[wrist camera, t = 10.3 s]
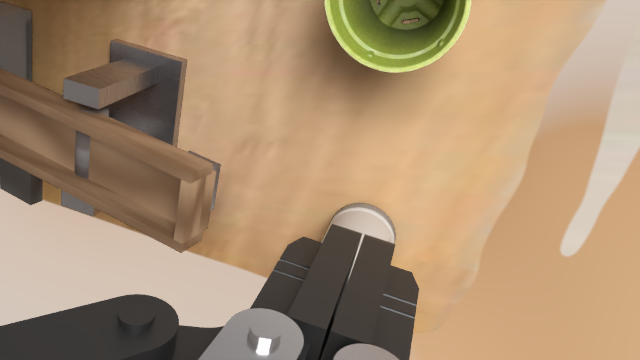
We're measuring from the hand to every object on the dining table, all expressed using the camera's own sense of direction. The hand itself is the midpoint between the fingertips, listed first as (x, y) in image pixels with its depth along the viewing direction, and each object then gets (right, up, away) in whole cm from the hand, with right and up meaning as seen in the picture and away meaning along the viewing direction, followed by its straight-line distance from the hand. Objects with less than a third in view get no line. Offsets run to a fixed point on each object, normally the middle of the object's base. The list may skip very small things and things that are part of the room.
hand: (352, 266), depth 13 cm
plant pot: (+6, +17, +31) cm, 35 cm away
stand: (-17, +8, +40) cm, 45 cm away
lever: (-19, +3, +36) cm, 40 cm away
